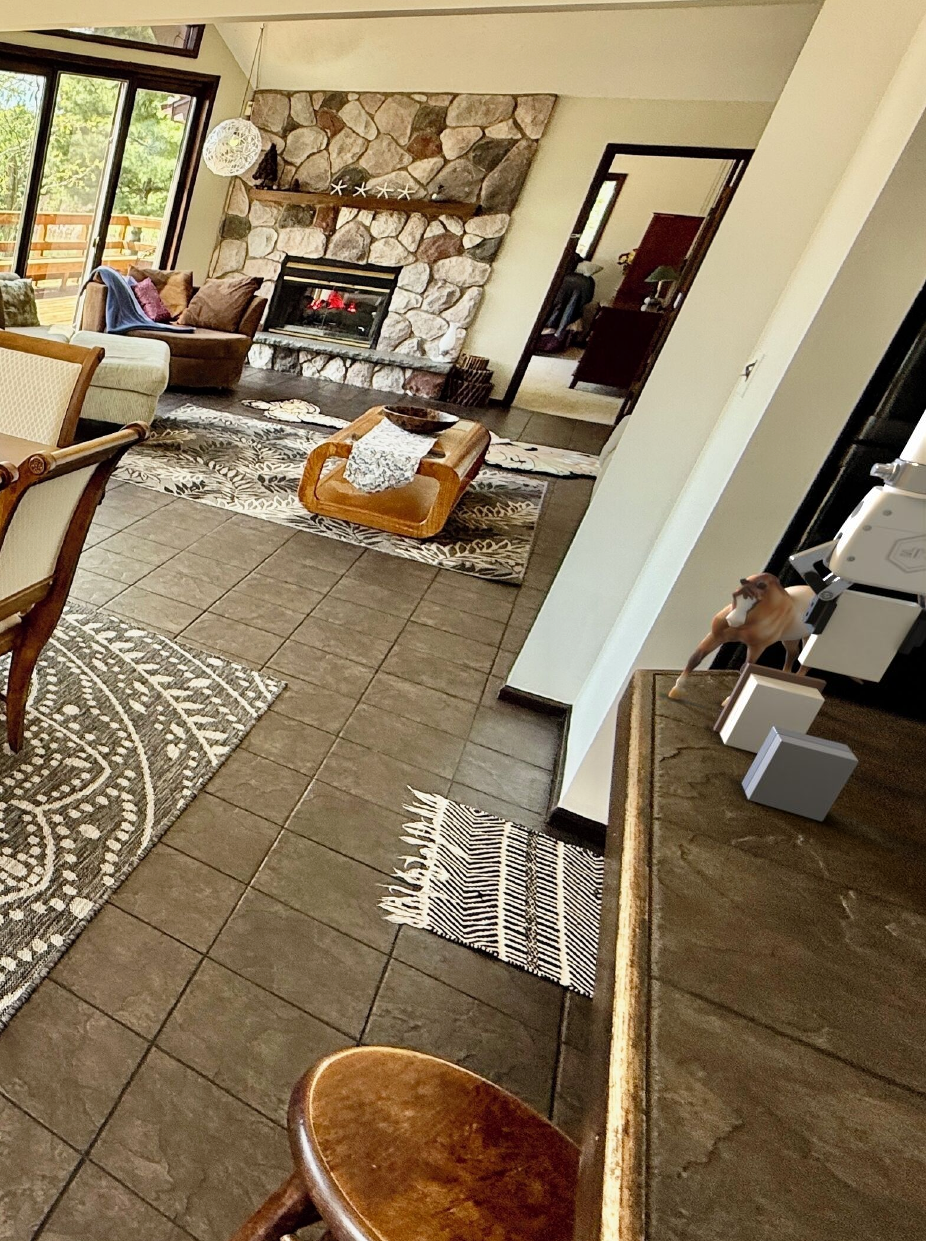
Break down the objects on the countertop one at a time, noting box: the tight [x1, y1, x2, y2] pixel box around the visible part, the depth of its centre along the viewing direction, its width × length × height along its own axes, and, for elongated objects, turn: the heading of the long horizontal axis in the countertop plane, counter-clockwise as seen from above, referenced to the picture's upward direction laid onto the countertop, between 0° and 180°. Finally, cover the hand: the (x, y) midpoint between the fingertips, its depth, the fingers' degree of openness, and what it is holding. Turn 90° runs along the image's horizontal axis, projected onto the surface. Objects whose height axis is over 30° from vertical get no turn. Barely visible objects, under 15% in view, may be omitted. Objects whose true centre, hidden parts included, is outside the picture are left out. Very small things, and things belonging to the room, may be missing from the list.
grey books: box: [741, 726, 860, 822], centre depth 101 cm, size 6×4×8 cm
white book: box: [797, 589, 922, 683], centre depth 98 cm, size 6×2×9 cm, turn 52°
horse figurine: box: [668, 572, 870, 708], centre depth 123 cm, size 31×8×21 cm, turn 100°
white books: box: [713, 663, 827, 754], centre depth 112 cm, size 7×5×10 cm
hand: (855, 638), depth 98 cm, fingers closed on white book, 6 cm apart
